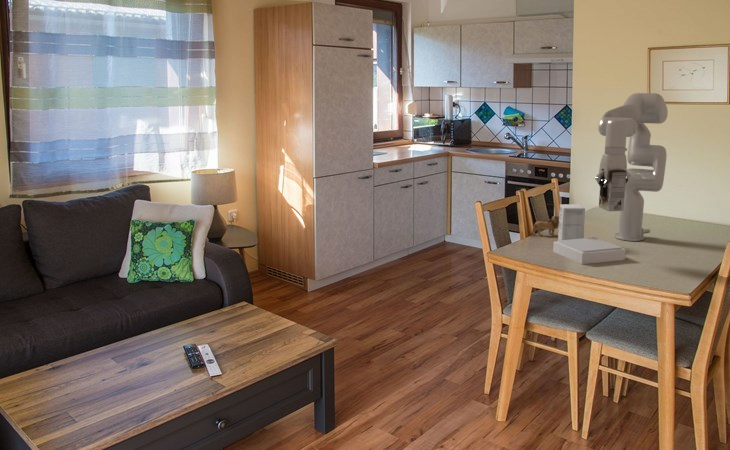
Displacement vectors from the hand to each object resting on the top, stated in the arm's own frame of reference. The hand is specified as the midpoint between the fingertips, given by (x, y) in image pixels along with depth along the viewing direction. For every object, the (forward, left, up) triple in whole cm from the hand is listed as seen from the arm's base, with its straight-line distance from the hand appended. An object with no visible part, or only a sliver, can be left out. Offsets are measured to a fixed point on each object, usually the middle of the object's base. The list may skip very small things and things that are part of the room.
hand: (611, 195), depth 263 cm
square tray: (+5, -5, -26) cm, 27 cm away
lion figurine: (+1, -43, -26) cm, 50 cm away
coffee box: (0, 0, -6) cm, 6 cm away
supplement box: (0, -25, -26) cm, 36 cm away
